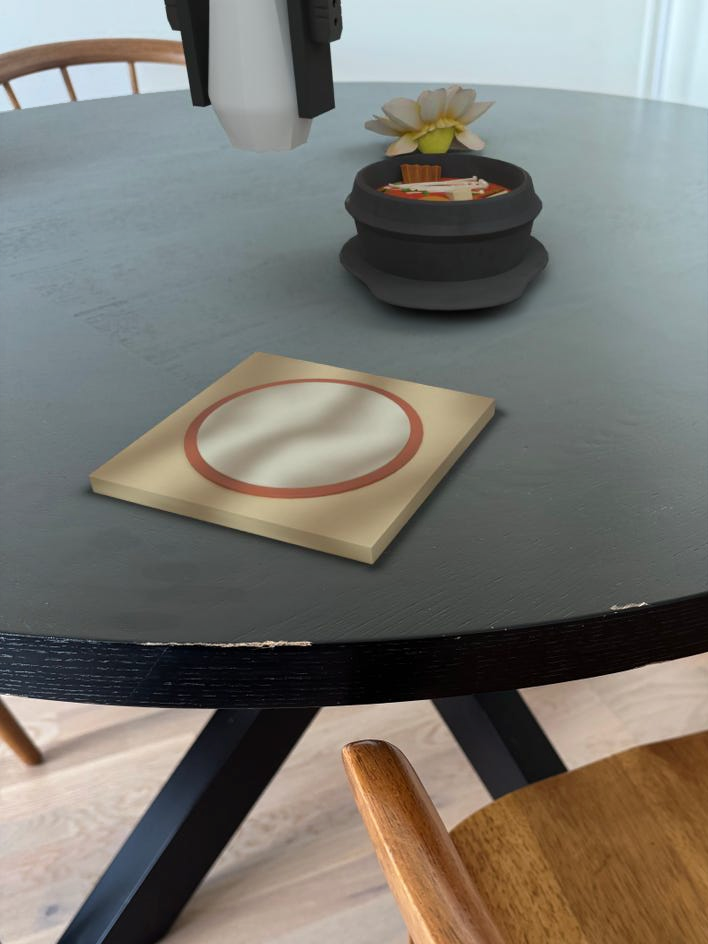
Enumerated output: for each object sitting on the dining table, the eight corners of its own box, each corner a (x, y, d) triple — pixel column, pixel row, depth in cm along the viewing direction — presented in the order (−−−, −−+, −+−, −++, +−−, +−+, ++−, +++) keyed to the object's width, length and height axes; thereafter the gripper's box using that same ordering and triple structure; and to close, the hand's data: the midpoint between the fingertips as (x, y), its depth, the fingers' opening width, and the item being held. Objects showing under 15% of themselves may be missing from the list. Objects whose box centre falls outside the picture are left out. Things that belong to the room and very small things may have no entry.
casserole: (346, 229, 94) (339, 136, 89) (532, 228, 96) (536, 136, 90) (334, 334, 76) (324, 225, 70) (565, 331, 77) (573, 223, 71)
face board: (93, 492, 58) (86, 471, 57) (258, 366, 71) (256, 347, 70) (372, 564, 53) (371, 542, 52) (494, 414, 66) (495, 394, 65)
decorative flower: (474, 119, 121) (476, 33, 113) (505, 164, 115) (510, 78, 107) (361, 136, 118) (354, 50, 110) (387, 185, 112) (382, 97, 104)
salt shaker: (196, 141, 53) (145, -162, 45) (282, 124, 56) (249, -163, 48) (253, 163, 50) (210, -159, 42) (341, 144, 53) (317, -160, 45)
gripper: (443, -559, 37) (449, 108, 52) (49, -520, 42) (159, 78, 57) (355, -623, 32) (391, 141, 47) (-84, -569, 37) (77, 105, 52)
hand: (263, 106), depth 52 cm, fingers closed on salt shaker, 6 cm apart
